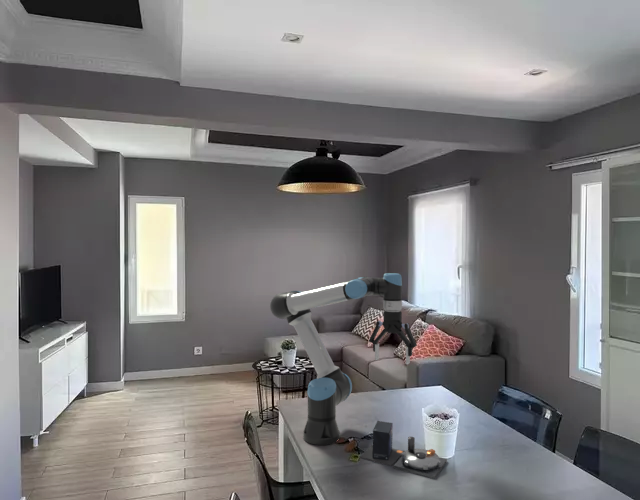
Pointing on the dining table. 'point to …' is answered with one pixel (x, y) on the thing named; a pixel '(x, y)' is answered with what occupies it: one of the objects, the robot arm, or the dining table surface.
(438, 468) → the sprocket base
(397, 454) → the pad
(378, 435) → the small box
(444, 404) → the dining table surface
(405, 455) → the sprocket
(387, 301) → the robot arm
